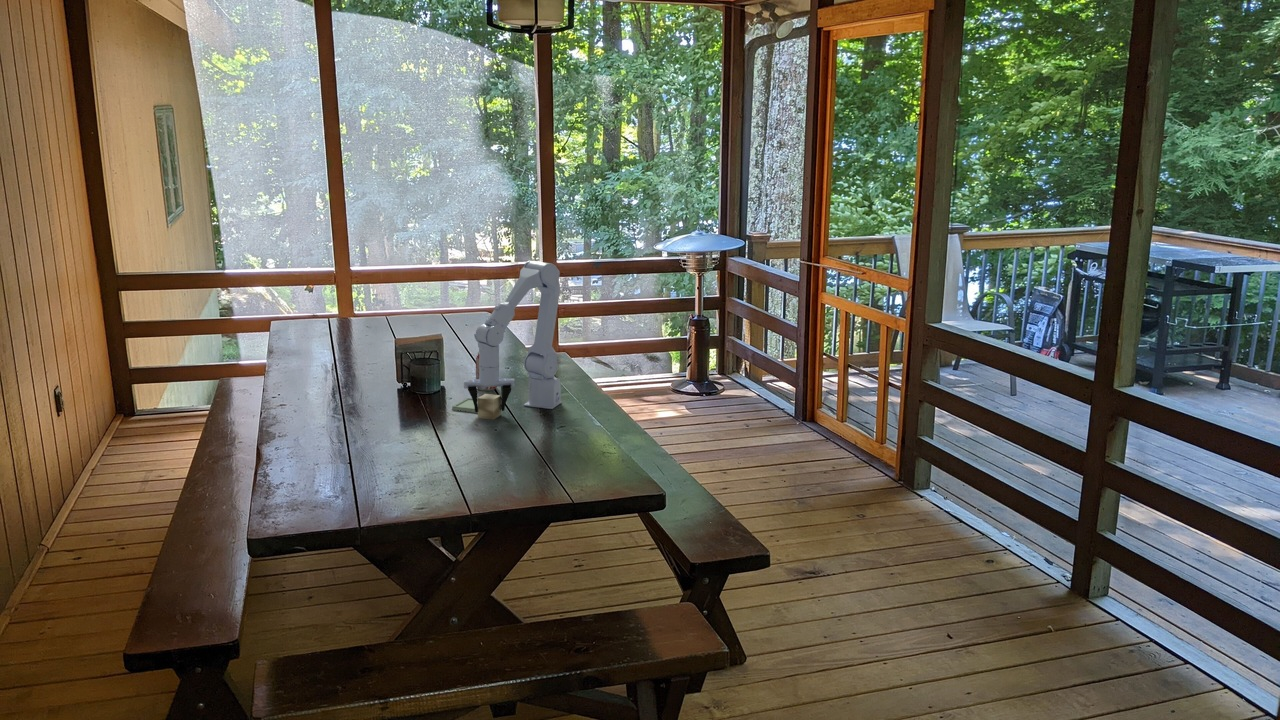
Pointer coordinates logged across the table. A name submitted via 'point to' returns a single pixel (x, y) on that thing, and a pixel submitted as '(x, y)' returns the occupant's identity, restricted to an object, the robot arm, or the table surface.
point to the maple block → (489, 406)
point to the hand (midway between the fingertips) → (489, 410)
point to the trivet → (465, 405)
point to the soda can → (478, 376)
